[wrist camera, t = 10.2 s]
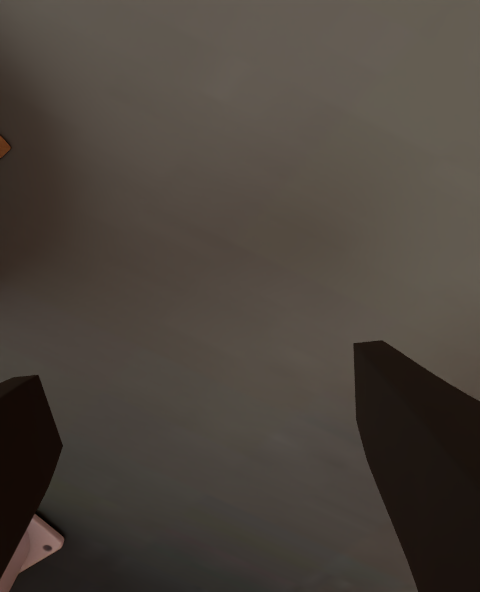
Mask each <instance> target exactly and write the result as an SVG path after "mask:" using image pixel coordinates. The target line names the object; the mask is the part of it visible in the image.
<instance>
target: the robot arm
mask: <svg viewBox="0 0 480 592" xmlns="http://www.w3.org/2000/svg"><path fill="white" fill-rule="evenodd" d="M354 370H355V397H356V421H357V424H358V428H359V432H360V436H361V440H362V444H363V447H364V451H365V455H366V458H367V461H368V464H369V467H370V469H371V472H372V474H373V477H374V479H375V482H376V484H377V487H378V489H379V492H380V494H381V497H382V499H383V502H384V504H385V506H386V509H387V511H388V514H389V516H390V519H391V521H392V524H393V526H394V529H395V531H396V534H397V536H398V538H399V541H400V543H401V546H402V548H403V551H404V553H405V556H406V558H407V561H408V564H409V566H410V569H411V572H412V575H413V577H414V580H415V583H416V586H417V589H418V592H480V401H478V400H476V399H474V398H473V397H471V396H469V395H467V394H465V393H464V392H462V391H460V390H459V389H457V388H455V387H453V386H452V385H450V384H448V383H447V382H445V381H444V380H442V379H440V378H439V377H437V376H436V375H434V374H432V373H431V372H429V371H428V370H426V369H425V368H423V367H422V366H420V365H419V364H417V363H416V362H414V361H413V360H411V359H410V358H408V357H407V356H405V355H404V354H402V353H401V352H399V351H398V350H396V349H395V348H393V347H392V346H390V345H389V344H387V343H385V342H384V341H372V342H362V343H354ZM62 447H63V445H62V442H61V439H60V436H59V433H58V430H57V428H56V425H55V422H54V419H53V416H52V413H51V410H50V407H49V404H48V401H47V398H46V396H45V393H44V390H43V387H42V384H41V381H40V378H39V375H33V376H23V377H13V378H11V379H8V380H6V381H4V382H2V383H0V592H9V591H10V589H11V587H12V585H13V583H14V581H15V579H16V577H17V575H18V574H19V573H20V572H22V571H24V570H25V569H27V568H29V567H30V566H32V565H34V564H35V563H37V562H39V561H40V560H42V559H44V558H45V557H47V556H49V555H50V554H52V553H54V552H55V551H57V550H59V549H60V548H61V547H62V545H63V543H64V538H63V537H62V535H60V534H59V533H58V532H57V531H55V530H54V529H53V528H52V527H51V526H49V525H48V524H47V523H46V522H44V521H43V520H42V519H41V518H40V517H38V516H37V515H36V514H35V512H36V510H37V508H38V507H39V505H40V503H41V501H42V499H43V497H44V495H45V493H46V491H47V489H48V487H49V484H50V481H51V479H52V476H53V473H54V471H55V468H56V465H57V462H58V459H59V456H60V453H61V450H62Z"/></svg>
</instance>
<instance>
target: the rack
mask: <svg viewBox="0 0 480 592" xmlns="http://www.w3.org/2000/svg"><path fill="white" fill-rule="evenodd" d="M10 148H11V147H10V146H9V145H8V143H7V142H6V141H5V140H4V139H3V138H2V137H1V136H0V158H1V157H2V156H4V155H5V154H6V153H7V152H8V151H9V150H10Z"/></svg>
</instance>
